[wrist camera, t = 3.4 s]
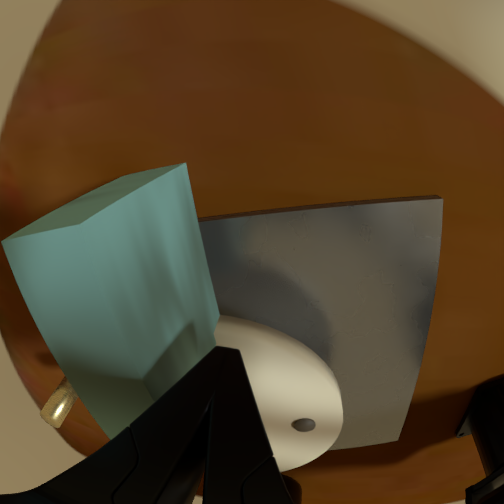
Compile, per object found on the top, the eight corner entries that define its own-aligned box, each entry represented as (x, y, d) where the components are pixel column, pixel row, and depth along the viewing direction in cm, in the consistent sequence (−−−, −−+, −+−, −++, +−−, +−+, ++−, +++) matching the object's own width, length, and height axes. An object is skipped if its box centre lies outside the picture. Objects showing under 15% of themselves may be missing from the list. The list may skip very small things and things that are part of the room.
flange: (336, 456, 16) (339, 539, 11) (157, 452, 18) (133, 522, 13) (334, 143, 9) (397, 182, 4) (35, 200, 11) (-70, 259, 6)
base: (396, 434, 19) (409, 500, 14) (128, 435, 23) (105, 489, 17) (437, 195, 12) (514, 250, 7) (28, 245, 16) (-39, 294, 10)
